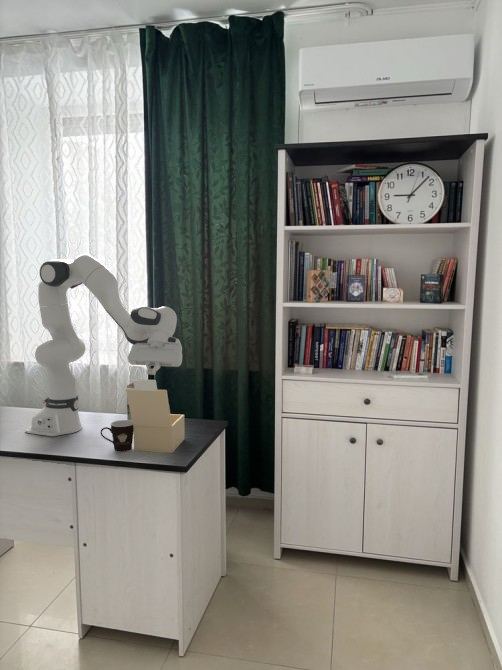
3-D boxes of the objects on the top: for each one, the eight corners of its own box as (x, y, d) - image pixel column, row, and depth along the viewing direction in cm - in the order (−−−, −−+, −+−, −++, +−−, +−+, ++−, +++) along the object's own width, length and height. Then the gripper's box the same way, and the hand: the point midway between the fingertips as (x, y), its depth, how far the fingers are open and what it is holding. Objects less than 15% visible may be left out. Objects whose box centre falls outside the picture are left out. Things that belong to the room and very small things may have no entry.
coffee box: (140, 421, 228) (139, 386, 226) (126, 420, 229) (126, 385, 227) (148, 415, 237) (147, 381, 235) (135, 414, 238) (134, 381, 236)
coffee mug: (138, 446, 195) (138, 420, 194) (128, 453, 187) (127, 427, 185) (111, 443, 198) (110, 418, 196) (99, 451, 189) (98, 425, 188)
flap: (133, 424, 189) (132, 425, 188) (124, 378, 180) (123, 380, 179) (172, 426, 187) (171, 428, 186) (165, 380, 178) (164, 381, 177)
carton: (133, 450, 190) (133, 424, 189) (148, 436, 206) (148, 412, 205) (172, 452, 188) (172, 426, 187) (184, 438, 204) (184, 414, 203)
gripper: (130, 337, 192) (120, 367, 184) (183, 339, 189) (175, 370, 181) (135, 347, 197) (125, 377, 189) (186, 349, 194) (178, 379, 186)
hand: (150, 373), depth 185 cm, fingers closed
